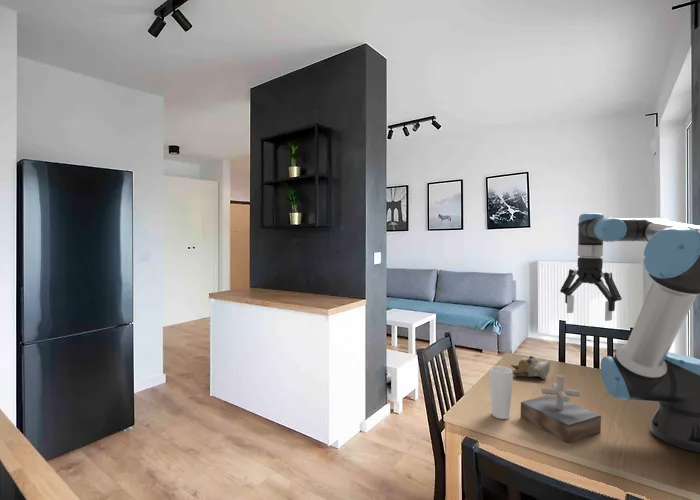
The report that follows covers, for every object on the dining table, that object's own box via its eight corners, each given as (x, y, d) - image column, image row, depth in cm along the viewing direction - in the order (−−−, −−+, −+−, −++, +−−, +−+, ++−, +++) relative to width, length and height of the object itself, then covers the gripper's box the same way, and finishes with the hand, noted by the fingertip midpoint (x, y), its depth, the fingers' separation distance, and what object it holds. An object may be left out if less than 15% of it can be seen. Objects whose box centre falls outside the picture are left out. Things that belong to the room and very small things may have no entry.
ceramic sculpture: (550, 361, 146) (509, 358, 153) (552, 383, 146) (510, 379, 153) (549, 353, 156) (510, 351, 162) (550, 374, 156) (511, 371, 162)
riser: (600, 432, 110) (601, 415, 110) (568, 442, 104) (568, 425, 104) (551, 409, 125) (551, 394, 125) (520, 417, 119) (520, 401, 119)
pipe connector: (584, 417, 108) (585, 383, 108) (546, 414, 111) (547, 380, 110) (572, 402, 118) (572, 371, 118) (537, 399, 120) (538, 368, 120)
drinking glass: (485, 415, 121) (485, 368, 120) (496, 409, 125) (496, 364, 124) (505, 423, 115) (506, 374, 115) (516, 416, 120) (516, 369, 119)
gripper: (635, 259, 125) (633, 322, 126) (563, 255, 147) (562, 309, 148) (621, 259, 122) (619, 325, 123) (550, 255, 144) (549, 310, 145)
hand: (588, 316), depth 135 cm, fingers open, 13 cm apart
